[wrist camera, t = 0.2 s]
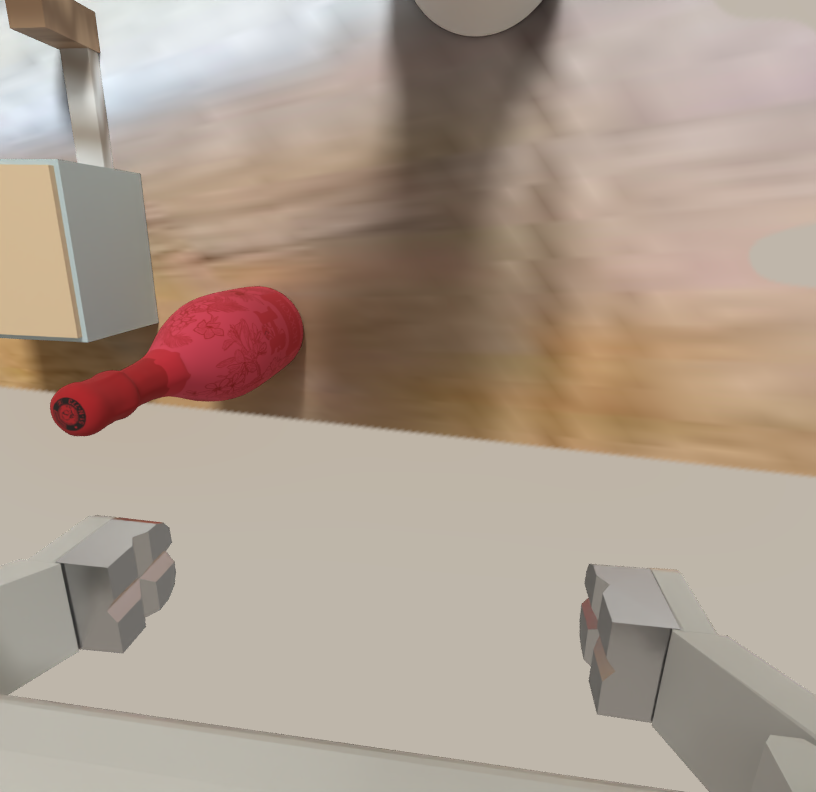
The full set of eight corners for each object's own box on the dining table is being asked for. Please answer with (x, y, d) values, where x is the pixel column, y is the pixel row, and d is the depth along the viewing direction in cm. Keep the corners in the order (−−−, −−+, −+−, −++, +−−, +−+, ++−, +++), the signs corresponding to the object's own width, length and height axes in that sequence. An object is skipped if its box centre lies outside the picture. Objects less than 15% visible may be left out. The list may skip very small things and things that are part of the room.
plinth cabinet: (21, 172, 57) (-93, 157, 46) (140, 173, 56) (52, 158, 44) (49, 317, 62) (-49, 336, 51) (158, 322, 61) (83, 343, 49)
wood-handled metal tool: (62, 13, 52) (1, -19, 46) (94, 12, 52) (38, -20, 45) (90, 200, 57) (40, 195, 51) (120, 200, 57) (73, 196, 50)
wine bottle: (322, 353, 59) (175, 464, 31) (247, 381, 61) (47, 508, 33) (285, 269, 57) (90, 307, 28) (210, 302, 59) (-41, 366, 31)
